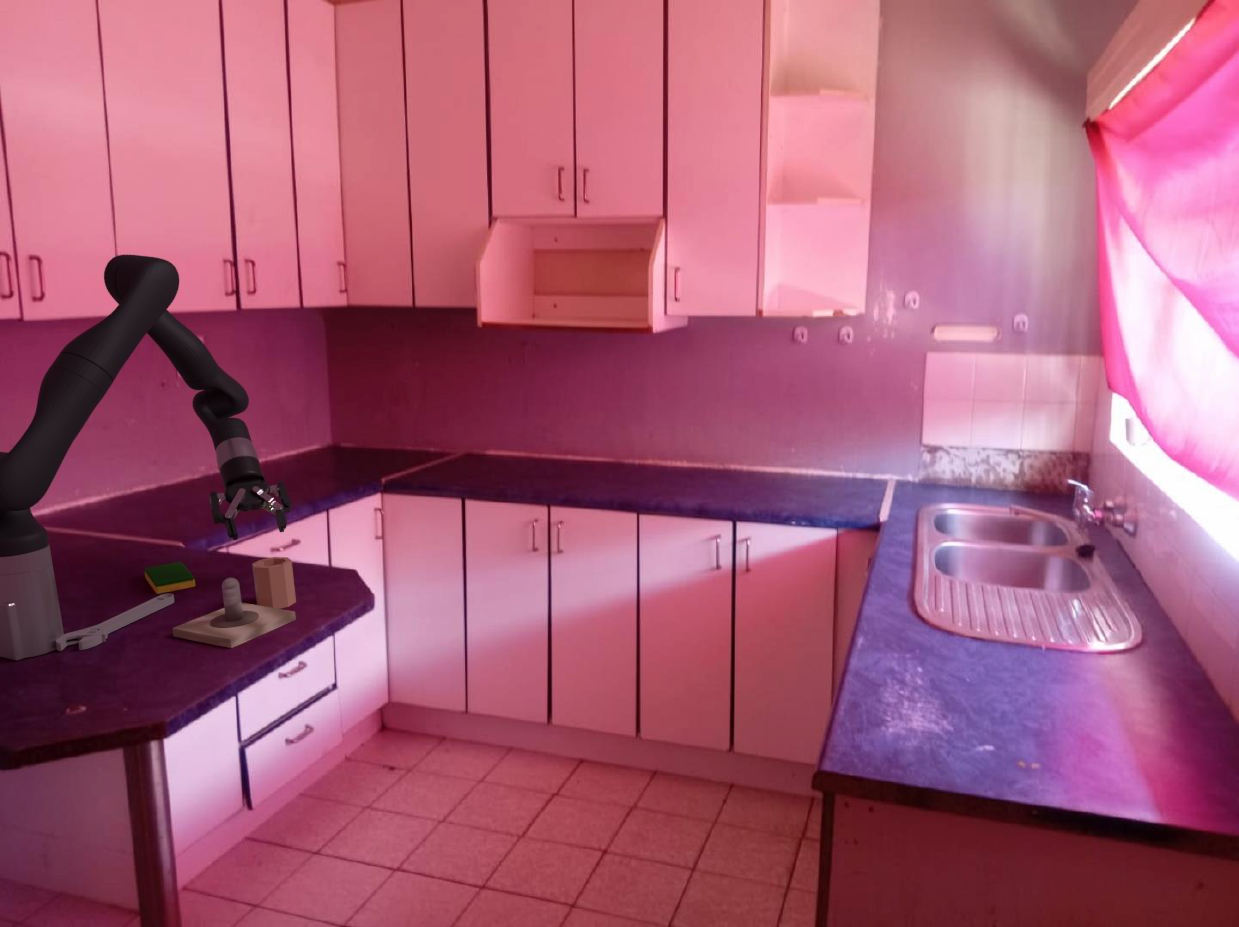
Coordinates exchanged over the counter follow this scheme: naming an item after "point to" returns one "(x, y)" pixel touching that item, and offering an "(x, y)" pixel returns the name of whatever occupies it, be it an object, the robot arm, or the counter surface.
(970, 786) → the counter surface
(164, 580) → the dish sponge
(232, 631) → the post stand
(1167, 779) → the counter surface
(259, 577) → the collar
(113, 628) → the adjustable wrench
